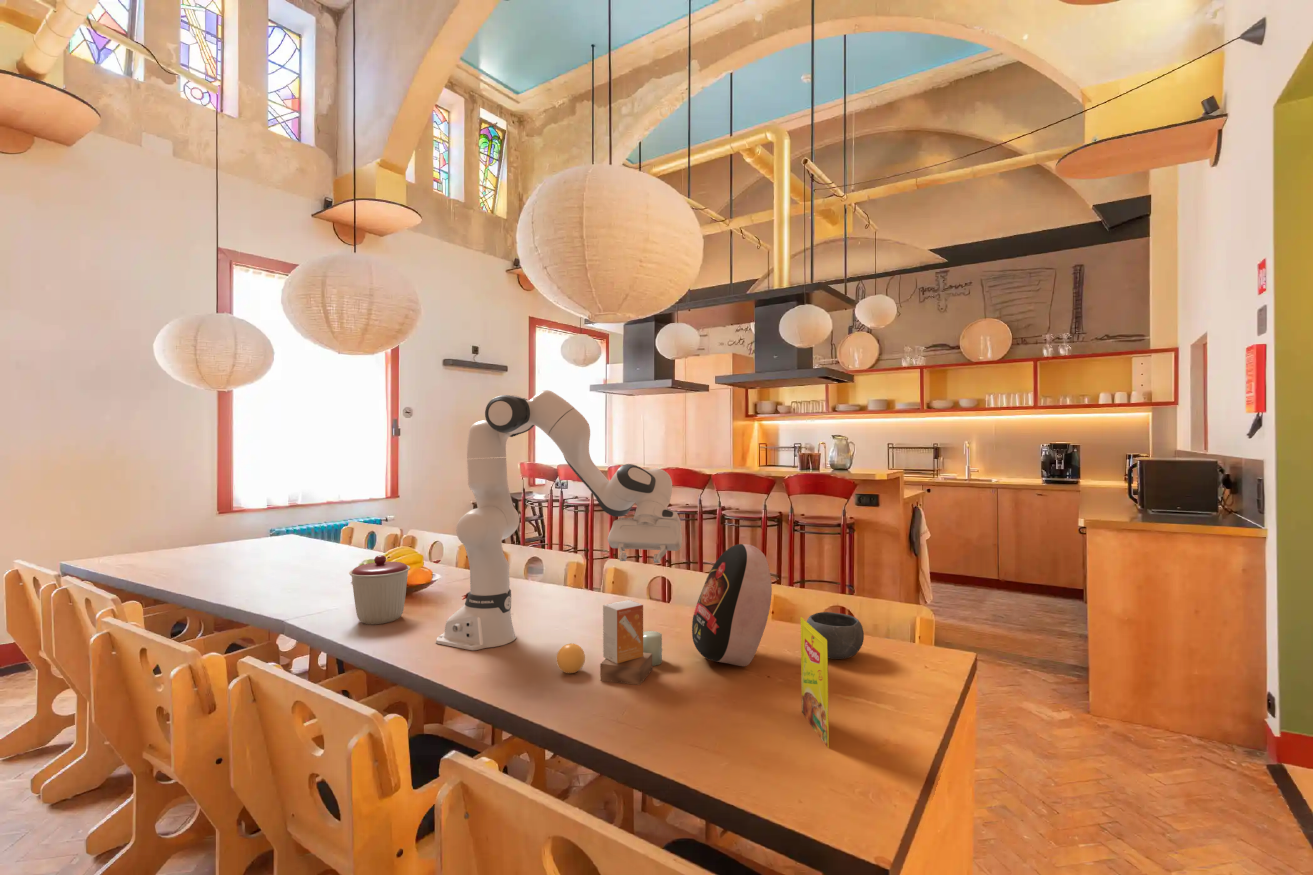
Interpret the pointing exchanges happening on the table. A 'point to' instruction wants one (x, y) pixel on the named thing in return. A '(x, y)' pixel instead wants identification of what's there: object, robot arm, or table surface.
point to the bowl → (838, 633)
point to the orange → (570, 658)
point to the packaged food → (733, 606)
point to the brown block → (627, 670)
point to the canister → (379, 590)
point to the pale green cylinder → (653, 646)
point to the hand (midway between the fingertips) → (639, 560)
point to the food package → (815, 680)
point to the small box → (622, 631)
